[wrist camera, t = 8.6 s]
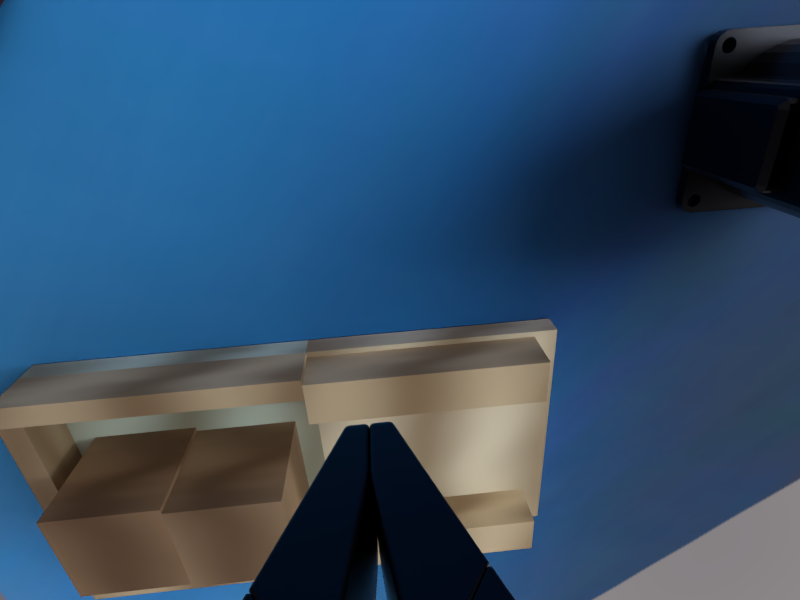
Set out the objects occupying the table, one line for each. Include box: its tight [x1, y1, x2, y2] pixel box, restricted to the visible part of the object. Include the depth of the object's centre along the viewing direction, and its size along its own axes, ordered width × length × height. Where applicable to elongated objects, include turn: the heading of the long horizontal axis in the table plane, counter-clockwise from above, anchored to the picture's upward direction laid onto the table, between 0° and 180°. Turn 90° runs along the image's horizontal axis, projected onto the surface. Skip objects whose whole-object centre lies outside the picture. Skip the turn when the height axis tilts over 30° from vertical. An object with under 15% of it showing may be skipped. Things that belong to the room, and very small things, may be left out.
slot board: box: [0, 319, 557, 599], centre depth 23 cm, size 23×12×3 cm, turn 94°
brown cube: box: [162, 421, 309, 587], centre depth 21 cm, size 4×4×4 cm
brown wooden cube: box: [37, 427, 197, 597], centre depth 21 cm, size 4×4×4 cm
